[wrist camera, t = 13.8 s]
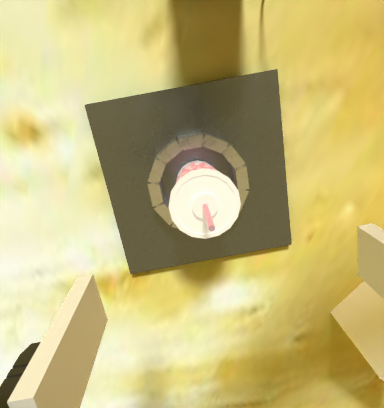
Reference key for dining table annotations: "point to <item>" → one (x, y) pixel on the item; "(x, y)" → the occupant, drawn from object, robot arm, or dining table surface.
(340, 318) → the desk organizer
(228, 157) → the cup holder
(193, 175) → the beverage cup
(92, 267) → the dining table surface
